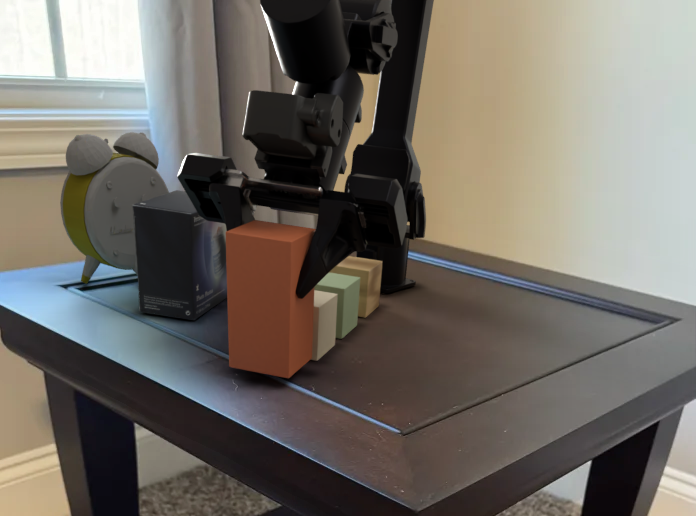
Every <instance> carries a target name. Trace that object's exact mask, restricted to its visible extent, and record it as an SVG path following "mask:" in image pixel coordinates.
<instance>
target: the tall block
mask: <svg viewBox="0 0 696 516" xmlns="http://www.w3.org/2000/svg"><path fill="white" fill-rule="evenodd" d="M315 230H316V228H313V227H306V226H300V225H292V224H286V223H280V222H279V223H278V222H273V221H265V220H260V219H259V220H258V219H255V220H254V221H251V222H249V223H246V224H244V225H241V226H239V227H236V228H234V229H231V230H229V231H227V232H226V265H227V298H226V300H227V302H226V303H227V333H228V335H227V336H228V337H227V339H228V366H229V367H230V368H233V369H237V370H241V371H242V370H243V371H248V372H253V373H258V374H264V375H269V376H273V377H280V378H283V379H284V378H285V379H290V378H292V376H293V375H294V374H295V373H297V372H298V371H299V370H300V369H302V368H303V367H304V366H305V365H306V364H307V363H308V362H309V361H311V360H310V359H311V358H312V343H313V314H314V288H313V289H312V290H311V291H310V292H309V293H308V294H307V295H306V296H305V297H304V298H303V299H300V298H298V297H297V295H296V287H297V282H298V278H299V274H300V271H301V268H302V265H303V262H304V260H305V257H306V254H307V252H308V249H309V246H310V244H311V241H312V238H313V236H314V233H315Z"/></svg>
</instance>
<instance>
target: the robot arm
mask: <svg viewBox="0 0 696 516" xmlns="http://www.w3.org/2000/svg"><path fill="white" fill-rule="evenodd" d="M434 1H435V0H259V4H260V7H261V11H262V13H263V17H264V20H265V22H266V25H267V29H268V32H269V35H270V37H271V40H272V42H273V46H274V50H275V53H276V56H277V58H278V62H279V65H280V69H281V71H282V73H283V74H282V75H284V76H286V77H287V78H289V79H291V80H292V81H294V82H295V84H294V86H293V91H292V93H285V92H277V91H267V90H259V89H257V90H256V89H254V90H250V91H249V92H248V97H247V103H246V111H245V117H244V123H243V129H242V138H243V139H244V140H245V141H249V142H250V143H251V144H252V145H253V146H254V147H255V148H256V152H255V156H254V162H255V164H256V166H257V168H258V169H259V170H263V171H264V177H263V178H258V177H252V176H248V174H246V173H245V172H244V171H241V170H240V169H239V170H238V168H237V166H236V165H235V162H234V160H233V158H232V157H231V156H224V155H223V156H222V155H216V154H208V153H200V152H192V153H187V154H186V155H185V156H184V159H183V160H182V162H181V165H180V168H179V170H178V172H177V175H176V176H177V177H176V178H177V180H178V182H179V183H180V185H181V186H182V188H183V191H185V192H186V193H187V195H188V197H189V198H190V200H191V202H192V204H193V205H194V207H195V209H196V211H197V212H198V214H199V216H200V217H202V218H204V219H205V220H207V221H212V222H219V223H225V225H226V230H227V231H229V230H231V229H234V228H236V227H239V226H241V225H244V224H246V223H249V222H251V221H254V220H256V218H255V217H254V216H255V212H256V210H257V207H264V208H265V207H266V208H269V209H271V210H274V211H280V212H287V213H293V214H294V213H295V214H302V215H307V216H309V215H310V216H313V217H314V216H315V217H317V220H316V221H317V222H316V226H315V229H316V230H315V233H314V236H313V238H312V241H311V244H310V246H309V249H308V252H307V254H306V257H305V260H304V262H303V265H302V268H301V271H300V274H299V278H298V282H297V287H296V295H297V297H298V298H300V299H303V298H304V297H305V296H306V295H307V294H308V293H309V292H310V291H311V290H312V289H313V288H314V287H315V286H316V285H317V284H318V283H319V282H320V281H321V280H322V279H323V278H324V277H325V276H326V275H327V274H328V273H329V272H330V271H331V270H332V269H333V268H334V267H335V266H337V265H338V264H339V263H340V262H342V261H343V260H344V259H345V258H347V257H348V256H351V255H352V254H353V253H355V252H356V255H355V257H359V258H365V259H372V260H378V261H382V274H381V286H380V293H383V294H389V293H393V292H397V291H400V290H403V289H407V288H410V287H414V286H416V283H417V281H416V280H415V279H410V278H407V270H408V261H409V251H410V240H413V241H414V240H416V239H424V238H425V236H426V229H427V228H426V227H427V209H426V198H425V196H424V190H423V185H422V183H421V175H422V173H421V172H422V170H421V167H420V164H419V162H418V158H417V156H416V153H415V150H414V147H413V143H412V142H413V135H414V130H415V129H414V128H415V123H416V116H417V110H418V104H419V97H420V90H421V84H422V77H423V71H424V67H425V66H424V64H425V58H426V53H427V47H428V41H429V33H430V27H431V21H432V14H433V7H434ZM360 74H361V75H370V76H371V75H373V76H374V75H376V76H378V75H379V81H378V86H377V93H376V94H377V95H376V99H375V100H376V101H375V108H374V115H373V122H372V129H371V133H370V134H369V135H368V136H367V138H366V139H365V140H364V142H363V144H362V143H357V144H356V146H355V148H354V149H353V152H352V159H351V169H350V173H349V174H348V175H347V177H346V180H345V184H344V190H343V191H339V190H335V187H336V185H337V180H338V178H339V175H345V173H346V170H347V166H348V163H347V162H348V161H347V158H346V152H347V148H348V145H349V142H350V139H351V135H352V133H353V129H354V127H355V124H360V123H361V122H362V118H363V110H362V109H363V108H362V105H361V103H362V100H363V97H364V93H365V89H364V84H363V80H362V77H361V76H360ZM408 223H409V224H408Z"/></svg>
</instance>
